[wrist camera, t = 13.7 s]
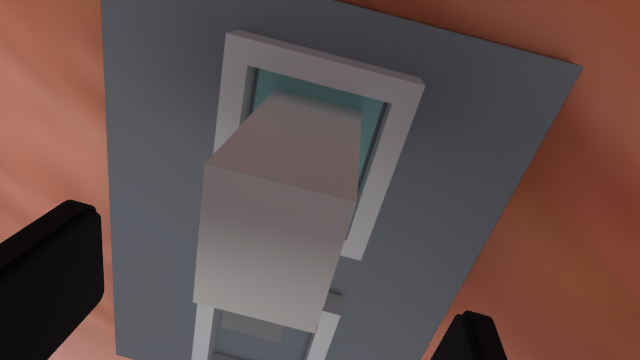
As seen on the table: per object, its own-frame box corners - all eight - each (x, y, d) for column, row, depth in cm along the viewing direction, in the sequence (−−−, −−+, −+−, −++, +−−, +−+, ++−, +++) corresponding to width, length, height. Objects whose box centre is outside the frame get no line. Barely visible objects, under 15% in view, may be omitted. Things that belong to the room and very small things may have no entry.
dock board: (571, 62, 16) (604, 74, 14) (383, 411, 28) (384, 447, 26) (113, -59, 16) (71, -67, 14) (124, 343, 28) (103, 373, 26)
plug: (362, 111, 17) (356, 202, 10) (331, 217, 19) (309, 349, 12) (274, 89, 17) (204, 163, 10) (256, 198, 19) (191, 319, 12)
